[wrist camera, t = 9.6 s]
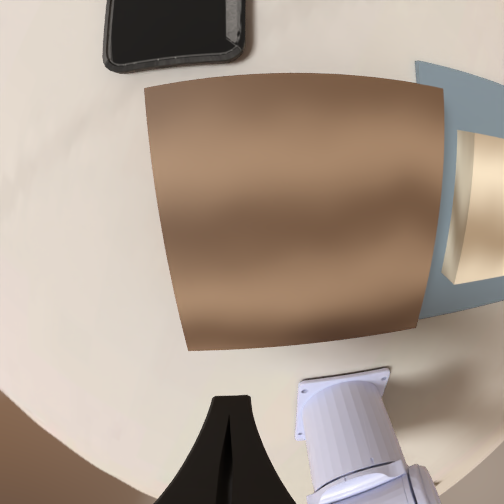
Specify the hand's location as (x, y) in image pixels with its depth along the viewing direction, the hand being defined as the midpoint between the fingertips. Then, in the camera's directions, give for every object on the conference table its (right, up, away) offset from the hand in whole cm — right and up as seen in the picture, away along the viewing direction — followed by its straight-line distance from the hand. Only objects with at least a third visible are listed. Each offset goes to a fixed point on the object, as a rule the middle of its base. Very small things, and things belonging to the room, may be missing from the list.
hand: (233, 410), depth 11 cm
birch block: (+17, +9, +4) cm, 19 cm away
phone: (-4, +23, +1) cm, 23 cm away
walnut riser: (+3, +9, +6) cm, 11 cm away
